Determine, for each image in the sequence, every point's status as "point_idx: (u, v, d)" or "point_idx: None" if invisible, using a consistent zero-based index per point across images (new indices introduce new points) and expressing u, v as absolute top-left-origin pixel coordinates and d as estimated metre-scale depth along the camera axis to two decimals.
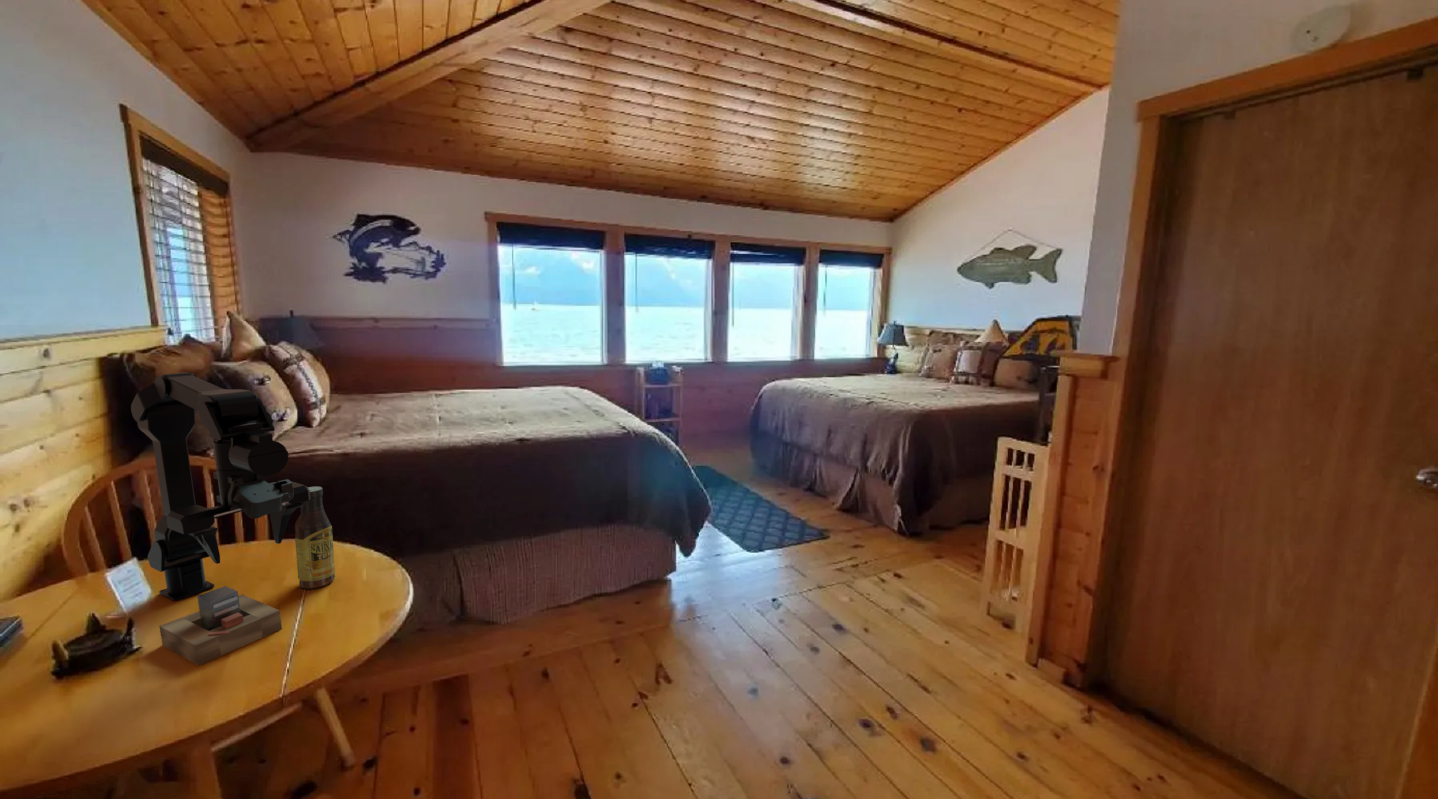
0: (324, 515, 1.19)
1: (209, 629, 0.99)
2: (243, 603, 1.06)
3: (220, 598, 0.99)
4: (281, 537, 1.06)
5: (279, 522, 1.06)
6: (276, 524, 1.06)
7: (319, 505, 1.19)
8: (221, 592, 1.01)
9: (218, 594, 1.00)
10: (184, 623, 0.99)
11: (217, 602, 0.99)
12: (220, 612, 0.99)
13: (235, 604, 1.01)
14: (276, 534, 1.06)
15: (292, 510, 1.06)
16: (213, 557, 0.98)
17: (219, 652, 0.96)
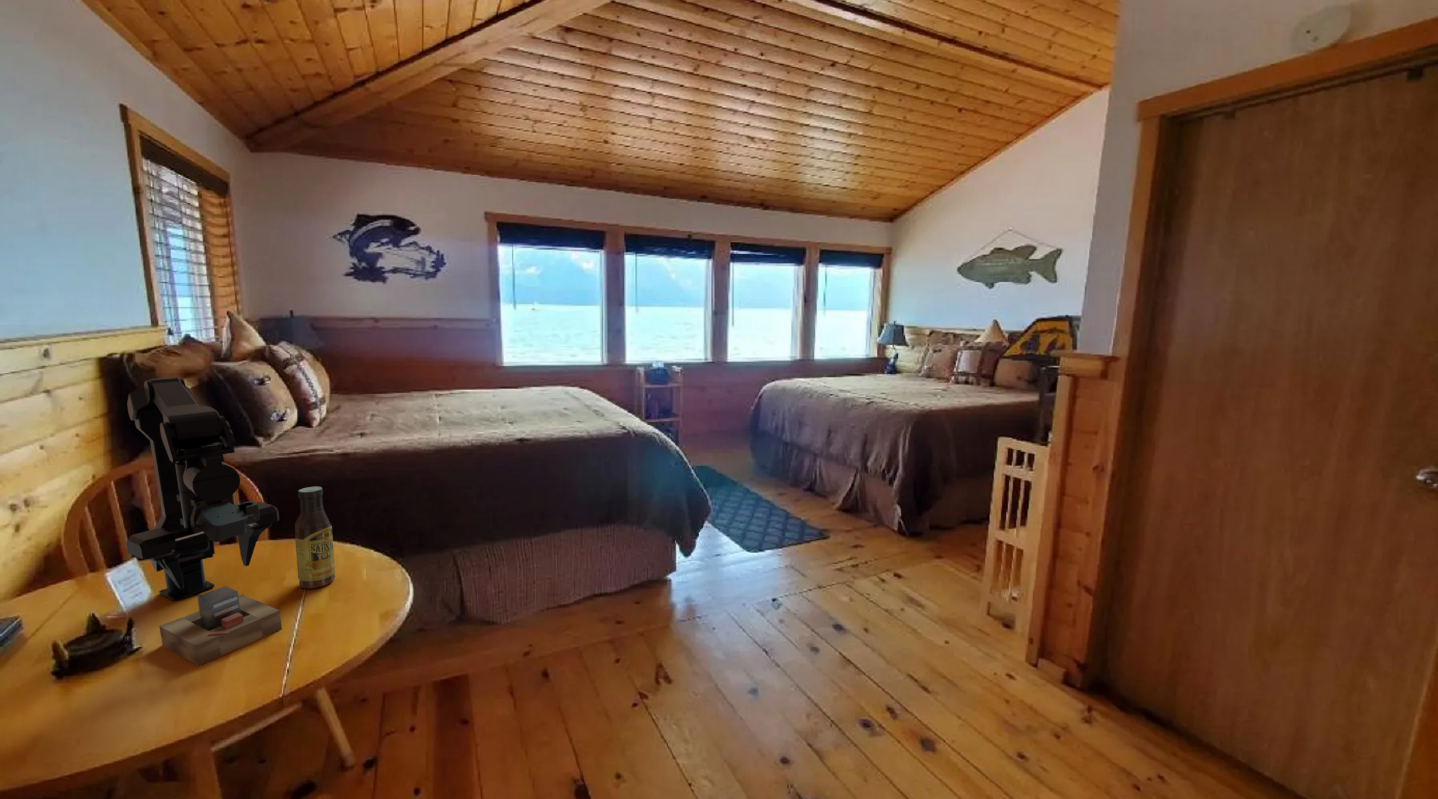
0: (324, 515, 1.19)
1: (209, 629, 0.99)
2: (243, 603, 1.06)
3: (220, 598, 0.99)
4: (249, 559, 1.04)
5: (247, 544, 1.03)
6: (244, 546, 1.04)
7: (319, 505, 1.19)
8: (221, 592, 1.01)
9: (218, 594, 1.00)
10: (184, 623, 0.99)
11: (217, 602, 0.99)
12: (220, 612, 0.99)
13: (235, 604, 1.01)
14: (244, 556, 1.04)
15: (260, 531, 1.04)
16: (176, 582, 0.95)
17: (219, 652, 0.96)
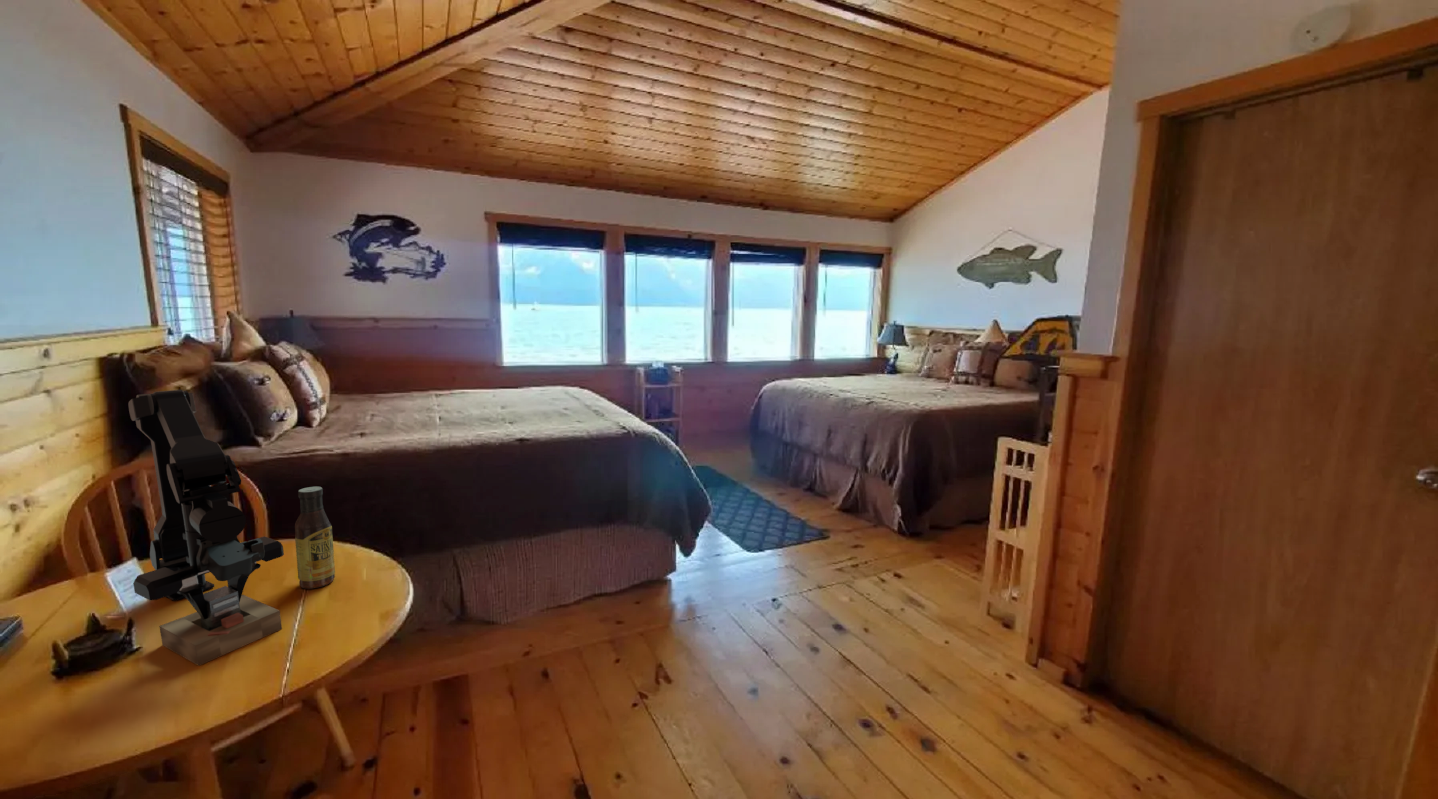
0: (324, 515, 1.19)
1: (209, 629, 0.99)
2: (243, 603, 1.06)
3: (220, 598, 0.99)
4: None
5: (235, 585, 1.02)
6: (233, 587, 1.03)
7: (319, 505, 1.19)
8: (221, 592, 1.01)
9: (218, 594, 1.00)
10: (184, 623, 0.99)
11: (217, 602, 0.99)
12: (220, 612, 0.99)
13: (235, 604, 1.01)
14: None
15: (249, 573, 1.03)
16: (200, 613, 0.98)
17: (219, 652, 0.96)
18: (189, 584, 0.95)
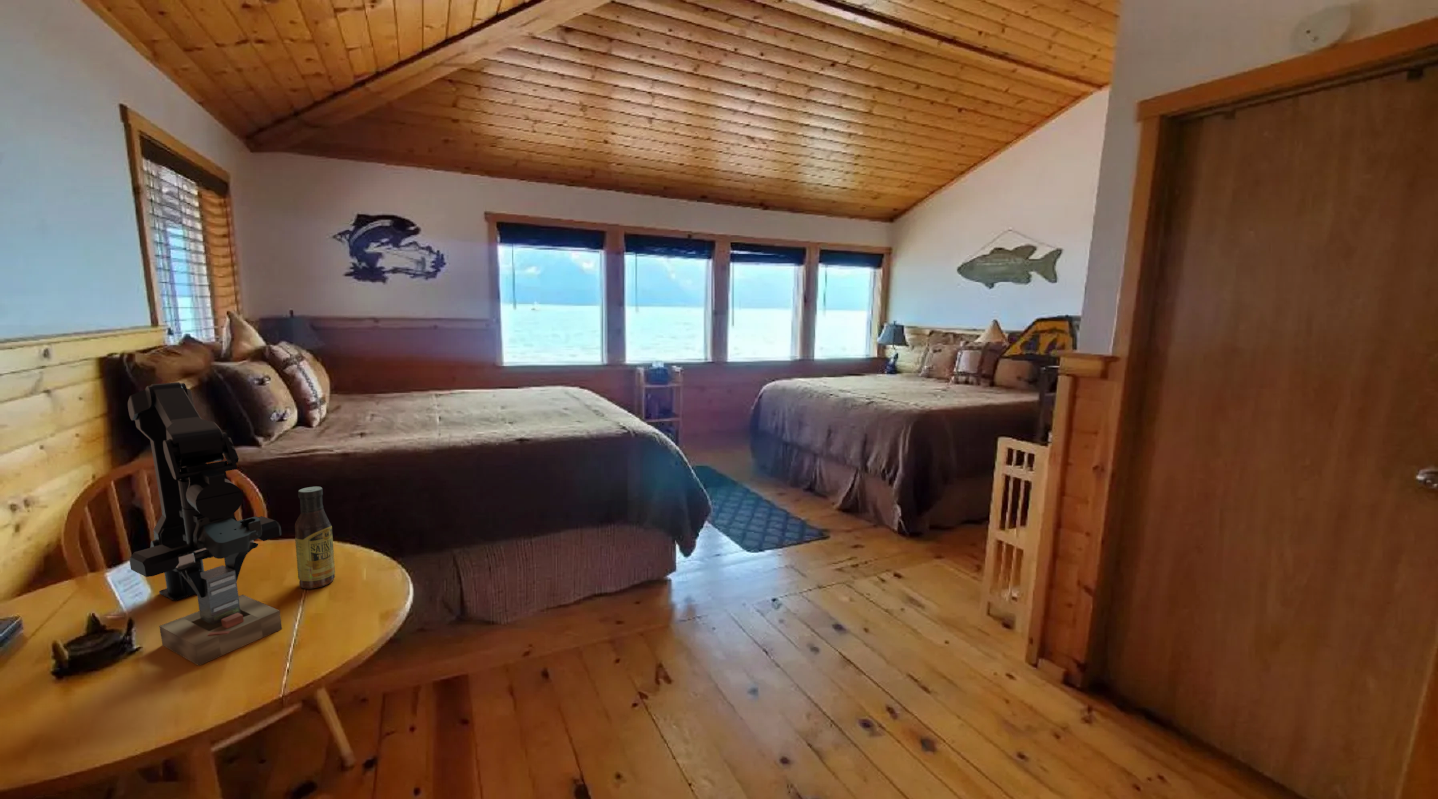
0: (324, 515, 1.19)
1: (206, 608, 0.99)
2: (243, 603, 1.06)
3: (217, 577, 0.99)
4: None
5: (233, 564, 1.02)
6: (230, 567, 1.02)
7: (319, 505, 1.19)
8: (218, 571, 1.00)
9: (215, 573, 1.00)
10: (184, 623, 0.99)
11: (214, 581, 0.98)
12: (217, 591, 0.99)
13: (232, 583, 1.01)
14: None
15: (246, 552, 1.02)
16: (197, 591, 0.98)
17: (219, 652, 0.96)
18: (186, 562, 0.95)
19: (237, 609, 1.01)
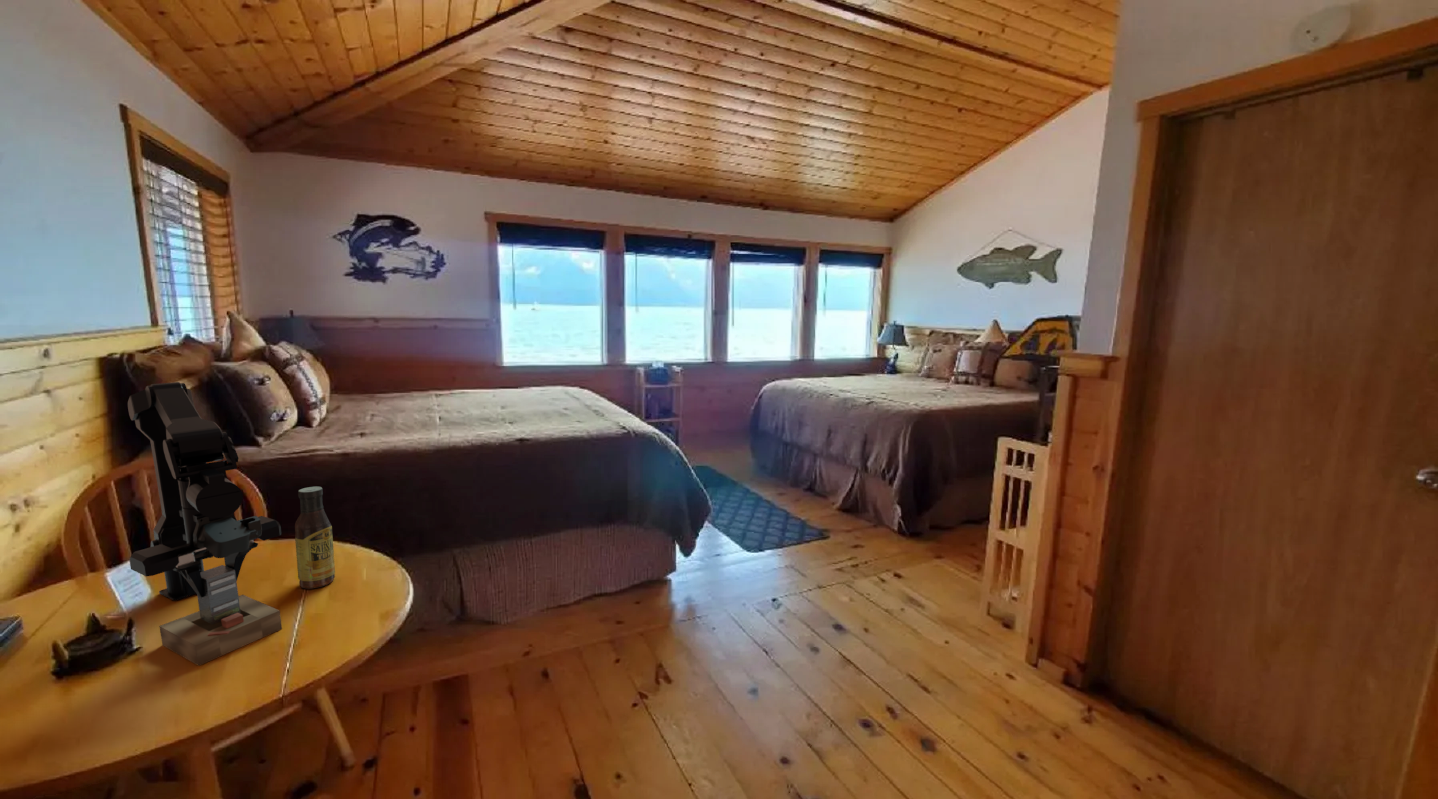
0: (324, 515, 1.19)
1: (206, 607, 0.99)
2: (243, 603, 1.06)
3: (217, 576, 0.99)
4: None
5: (233, 564, 1.02)
6: (230, 566, 1.02)
7: (319, 505, 1.19)
8: (218, 571, 1.00)
9: (215, 572, 1.00)
10: (184, 623, 0.99)
11: (214, 580, 0.98)
12: (217, 590, 0.99)
13: (232, 583, 1.01)
14: None
15: (246, 551, 1.02)
16: (197, 591, 0.98)
17: (219, 652, 0.96)
18: (186, 561, 0.95)
19: (237, 609, 1.01)
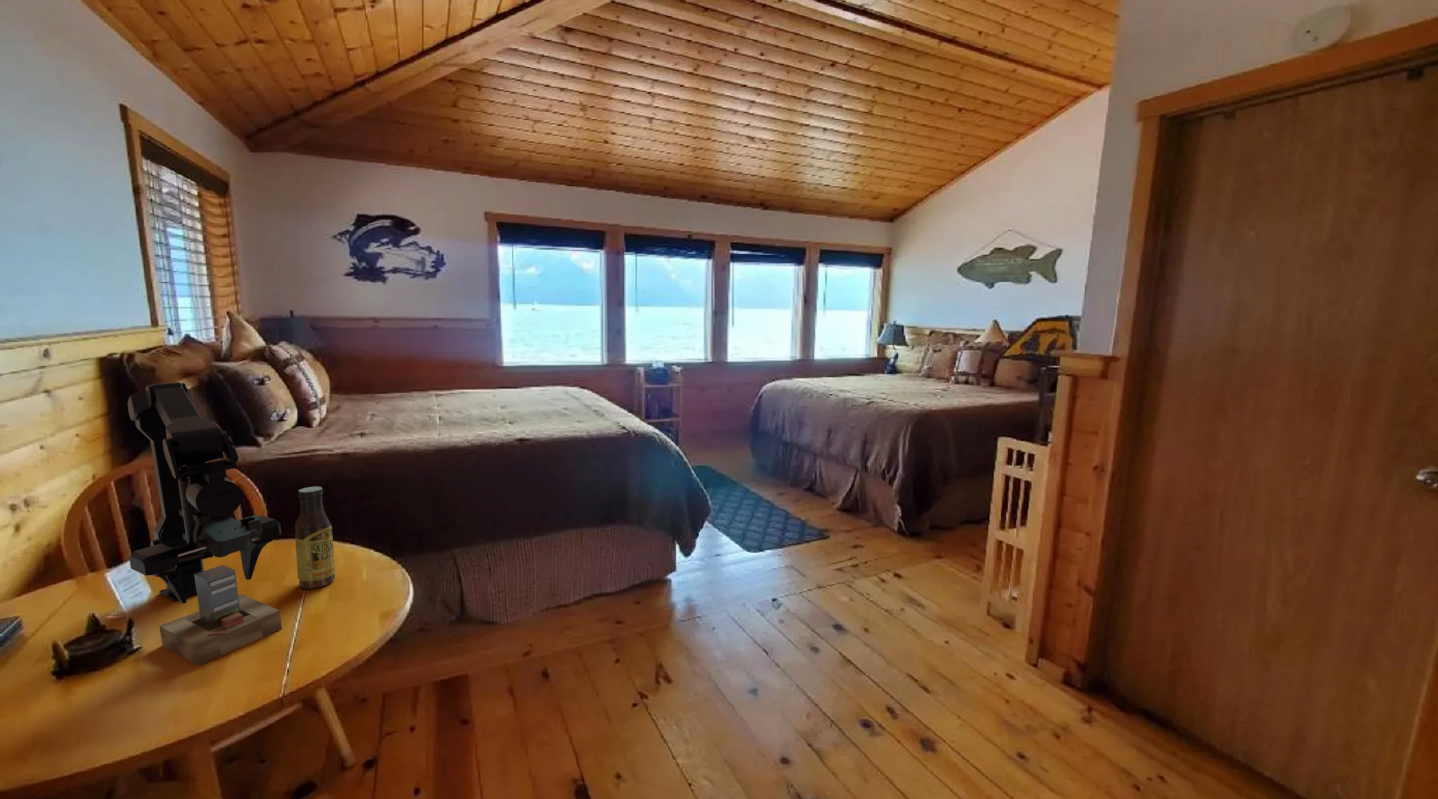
0: (324, 515, 1.19)
1: (206, 607, 0.99)
2: (243, 603, 1.06)
3: (217, 576, 0.99)
4: (251, 573, 1.04)
5: (249, 558, 1.04)
6: (246, 560, 1.04)
7: (319, 505, 1.19)
8: (218, 571, 1.00)
9: (215, 572, 1.00)
10: (184, 623, 0.99)
11: (214, 580, 0.98)
12: (217, 590, 0.99)
13: (232, 583, 1.01)
14: (246, 570, 1.04)
15: (262, 545, 1.04)
16: (179, 597, 0.95)
17: (219, 652, 0.96)
18: None
19: (237, 609, 1.01)
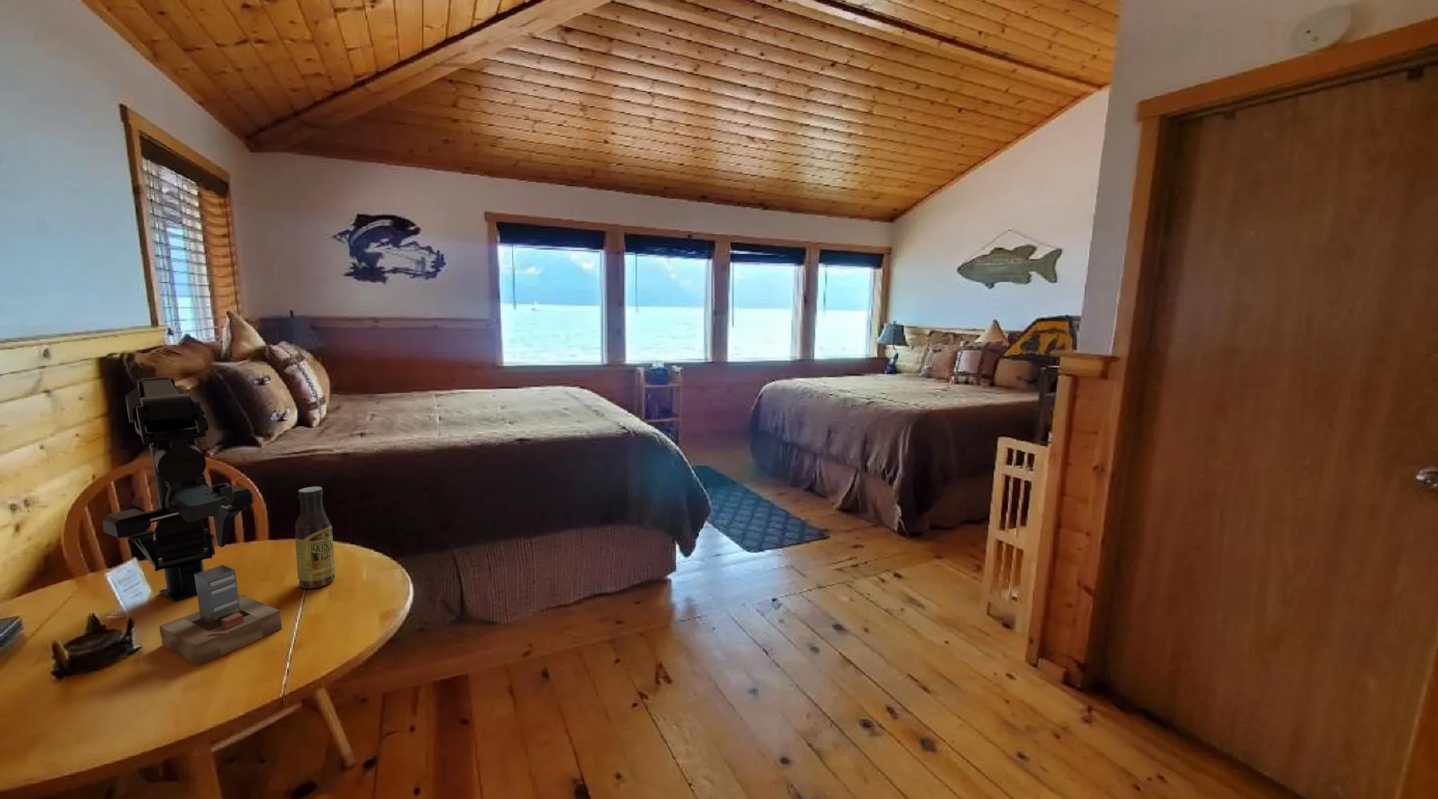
0: (324, 515, 1.19)
1: (206, 607, 0.99)
2: (243, 603, 1.06)
3: (217, 576, 0.99)
4: (224, 540, 1.07)
5: (222, 525, 1.06)
6: (219, 528, 1.07)
7: (319, 505, 1.19)
8: (218, 571, 1.00)
9: (215, 572, 1.00)
10: (184, 623, 0.99)
11: (214, 580, 0.98)
12: (217, 590, 0.99)
13: (232, 583, 1.01)
14: (219, 537, 1.07)
15: (235, 513, 1.07)
16: (151, 561, 0.98)
17: (219, 652, 0.96)
18: None
19: (237, 609, 1.01)
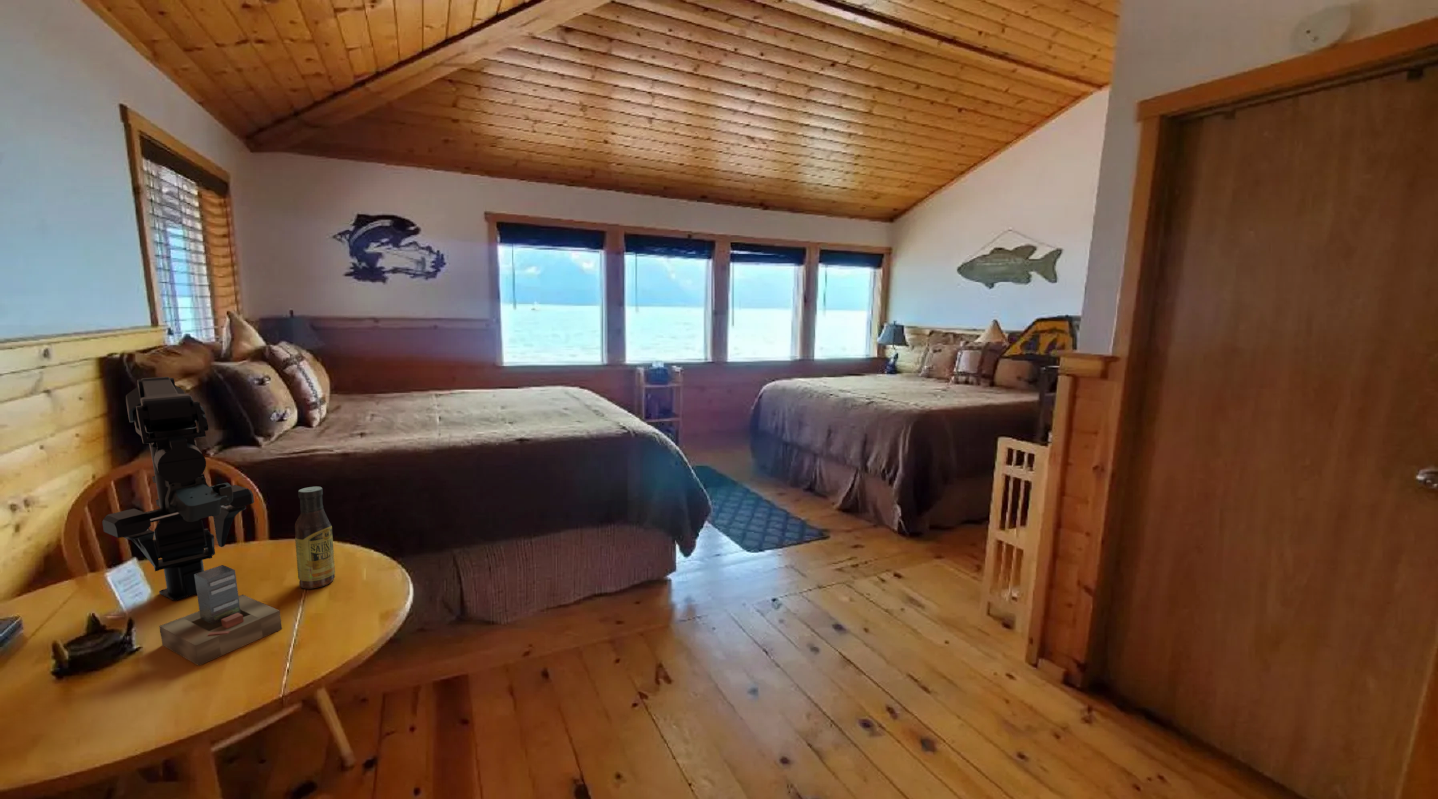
0: (324, 515, 1.19)
1: (206, 607, 0.99)
2: (243, 603, 1.06)
3: (217, 576, 0.99)
4: (224, 540, 1.07)
5: (222, 525, 1.06)
6: (219, 528, 1.07)
7: (319, 505, 1.19)
8: (218, 571, 1.00)
9: (215, 572, 1.00)
10: (184, 623, 0.99)
11: (214, 580, 0.98)
12: (217, 590, 0.99)
13: (232, 583, 1.01)
14: (219, 537, 1.07)
15: (235, 513, 1.07)
16: (151, 560, 0.98)
17: (219, 652, 0.96)
18: None
19: (237, 609, 1.01)
